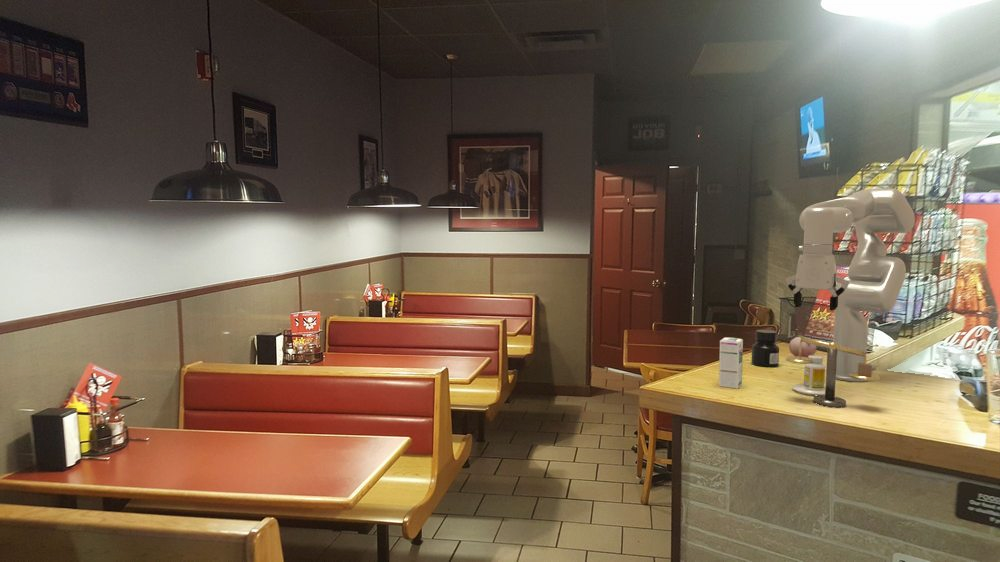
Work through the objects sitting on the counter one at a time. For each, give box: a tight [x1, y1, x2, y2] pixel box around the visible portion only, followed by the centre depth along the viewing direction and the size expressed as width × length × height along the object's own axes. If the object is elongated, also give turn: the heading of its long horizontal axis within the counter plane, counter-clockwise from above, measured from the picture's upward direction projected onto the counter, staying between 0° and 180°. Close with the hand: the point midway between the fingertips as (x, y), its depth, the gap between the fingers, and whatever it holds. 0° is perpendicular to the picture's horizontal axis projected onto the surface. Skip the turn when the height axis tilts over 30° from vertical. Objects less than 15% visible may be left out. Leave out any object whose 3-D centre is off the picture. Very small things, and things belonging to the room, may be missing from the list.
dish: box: [791, 383, 826, 396], centre depth 182 cm, size 11×11×1 cm
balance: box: [785, 336, 881, 409], centre depth 169 cm, size 8×23×18 cm, turn 62°
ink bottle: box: [751, 329, 780, 368], centre depth 217 cm, size 10×9×12 cm
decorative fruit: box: [788, 333, 817, 358], centre depth 223 cm, size 9×8×10 cm
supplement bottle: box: [803, 354, 826, 391], centre depth 181 cm, size 5×5×10 cm
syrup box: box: [718, 337, 744, 390], centre depth 188 cm, size 6×6×14 cm
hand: (815, 308), depth 181 cm, fingers open, 9 cm apart
